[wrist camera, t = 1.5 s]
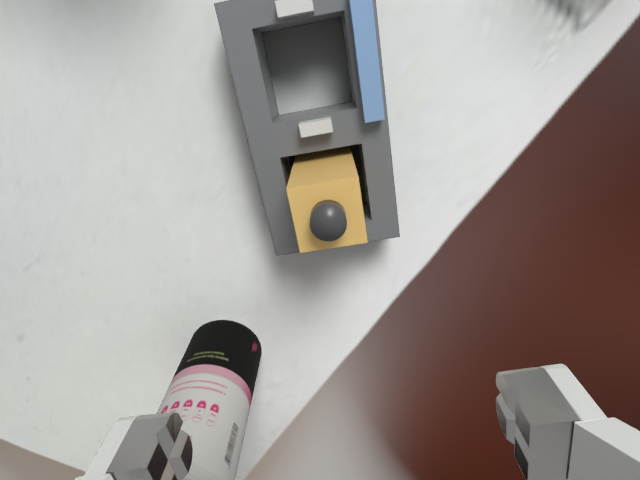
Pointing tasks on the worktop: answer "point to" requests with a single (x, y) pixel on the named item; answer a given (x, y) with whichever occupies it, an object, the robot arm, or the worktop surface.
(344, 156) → the drawer with knob
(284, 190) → the grey compartment tray
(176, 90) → the worktop surface
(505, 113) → the worktop surface
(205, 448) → the beverage can
